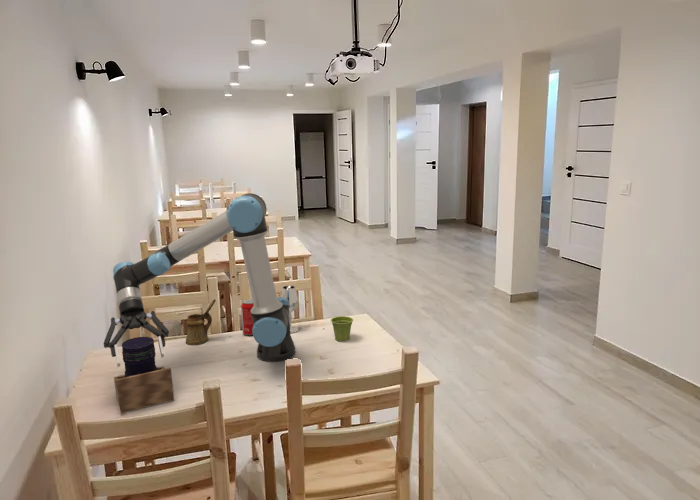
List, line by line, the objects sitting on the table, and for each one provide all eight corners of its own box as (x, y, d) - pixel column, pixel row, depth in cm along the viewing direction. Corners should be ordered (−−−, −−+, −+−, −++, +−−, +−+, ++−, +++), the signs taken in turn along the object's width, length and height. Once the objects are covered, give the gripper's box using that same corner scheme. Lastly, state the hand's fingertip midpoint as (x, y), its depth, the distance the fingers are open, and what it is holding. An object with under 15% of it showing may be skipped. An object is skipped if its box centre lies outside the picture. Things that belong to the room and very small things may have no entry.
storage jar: (125, 394, 158) (120, 350, 155) (126, 381, 167) (121, 339, 164) (159, 388, 162) (154, 345, 159) (157, 375, 171) (153, 334, 168)
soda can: (239, 333, 219) (237, 301, 216) (253, 328, 225) (251, 297, 222) (249, 338, 214) (247, 304, 211) (264, 333, 220) (262, 300, 216)
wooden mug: (218, 343, 209) (215, 302, 205) (184, 346, 206) (180, 304, 203) (219, 335, 217) (216, 296, 214) (187, 338, 215) (183, 298, 211)
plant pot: (333, 334, 216) (332, 315, 215) (354, 335, 215) (354, 316, 213) (329, 342, 207) (329, 323, 206) (351, 343, 206) (351, 324, 204)
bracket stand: (165, 380, 176) (162, 351, 174) (174, 399, 162) (171, 368, 160) (115, 392, 168) (112, 361, 166) (120, 413, 154) (116, 380, 152)
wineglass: (279, 333, 219) (277, 289, 215) (284, 326, 227) (282, 284, 223) (296, 333, 218) (294, 290, 214) (301, 327, 225) (299, 285, 221)
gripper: (167, 302, 179) (179, 356, 169) (90, 315, 167) (99, 373, 157) (168, 292, 173) (181, 347, 164) (89, 304, 161) (98, 364, 151)
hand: (141, 360), depth 160 cm, fingers open, 13 cm apart
